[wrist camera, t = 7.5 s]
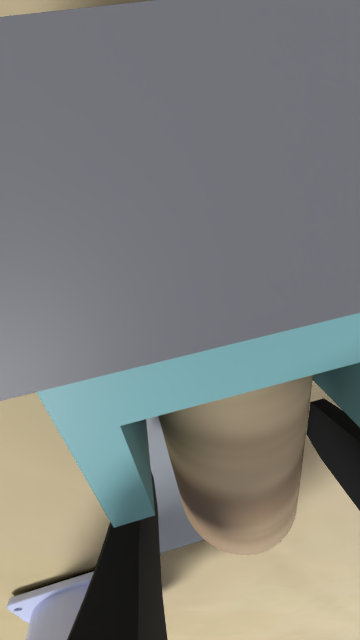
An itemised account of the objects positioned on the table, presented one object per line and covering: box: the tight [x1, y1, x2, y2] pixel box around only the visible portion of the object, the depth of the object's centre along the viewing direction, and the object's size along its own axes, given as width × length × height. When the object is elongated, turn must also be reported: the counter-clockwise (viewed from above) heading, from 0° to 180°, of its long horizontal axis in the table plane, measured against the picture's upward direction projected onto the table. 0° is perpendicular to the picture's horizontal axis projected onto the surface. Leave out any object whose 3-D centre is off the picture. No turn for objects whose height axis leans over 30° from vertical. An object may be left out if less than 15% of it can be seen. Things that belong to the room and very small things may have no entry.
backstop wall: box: [0, 0, 360, 401], centre depth 5 cm, size 3×9×6 cm, turn 99°
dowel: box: [158, 375, 313, 555], centre depth 9 cm, size 8×5×5 cm, turn 9°
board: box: [146, 416, 205, 554], centre depth 13 cm, size 20×10×1 cm, turn 9°
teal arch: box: [36, 313, 360, 528], centre depth 7 cm, size 5×8×5 cm, turn 99°
